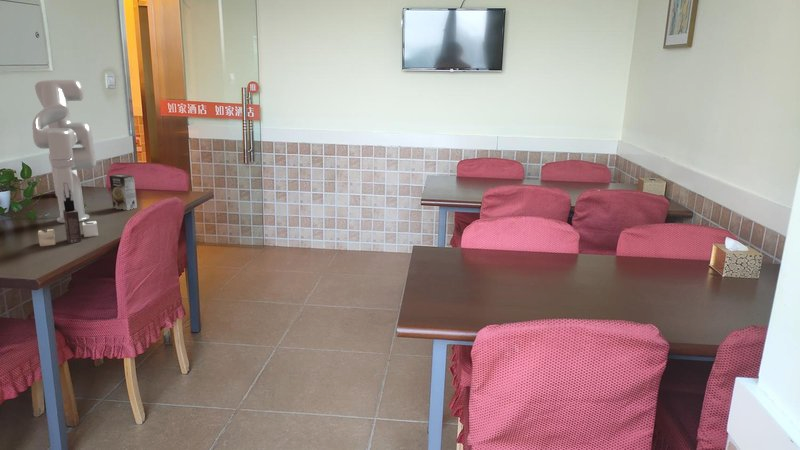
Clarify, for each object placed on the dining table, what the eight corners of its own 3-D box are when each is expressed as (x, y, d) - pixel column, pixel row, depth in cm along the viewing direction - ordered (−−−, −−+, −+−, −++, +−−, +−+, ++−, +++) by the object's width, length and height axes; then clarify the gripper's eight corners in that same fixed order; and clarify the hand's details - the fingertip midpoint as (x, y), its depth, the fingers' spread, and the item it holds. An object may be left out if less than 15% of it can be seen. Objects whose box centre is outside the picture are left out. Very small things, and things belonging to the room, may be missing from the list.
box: (82, 241, 225) (78, 211, 222) (69, 243, 222) (65, 213, 219) (79, 237, 229) (74, 208, 226) (66, 239, 226) (61, 209, 223)
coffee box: (112, 208, 276) (108, 175, 272) (123, 206, 282) (119, 173, 277) (127, 210, 273) (123, 176, 268) (137, 207, 278) (134, 174, 274)
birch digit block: (40, 243, 222) (38, 229, 221) (55, 241, 225) (53, 228, 223) (40, 246, 218) (37, 233, 217) (55, 244, 220) (53, 231, 219)
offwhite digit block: (84, 234, 234) (82, 221, 233) (97, 232, 237) (96, 220, 235) (84, 237, 230) (82, 224, 229) (98, 235, 233) (96, 223, 231)
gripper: (51, 161, 222) (59, 208, 227) (51, 166, 209) (58, 216, 214) (74, 160, 226) (80, 205, 230) (74, 165, 213) (81, 213, 218)
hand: (70, 210), depth 222 cm, fingers closed
